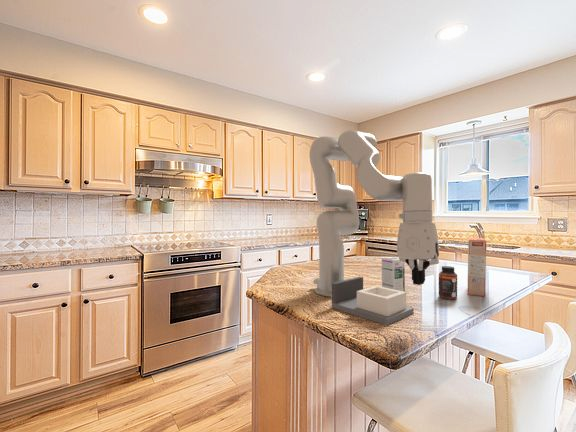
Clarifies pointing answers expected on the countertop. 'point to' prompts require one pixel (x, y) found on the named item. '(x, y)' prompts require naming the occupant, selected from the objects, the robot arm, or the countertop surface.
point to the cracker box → (477, 266)
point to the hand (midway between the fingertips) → (418, 283)
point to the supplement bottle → (448, 283)
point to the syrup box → (393, 274)
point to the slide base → (347, 302)
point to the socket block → (381, 300)
